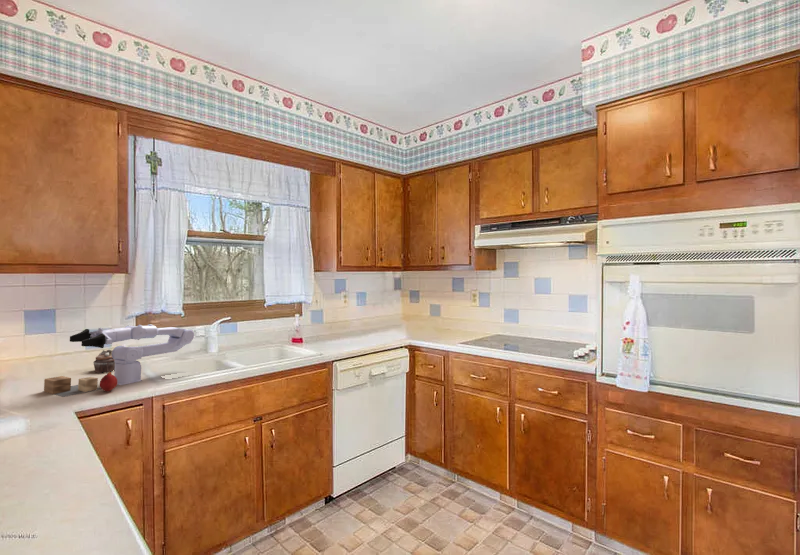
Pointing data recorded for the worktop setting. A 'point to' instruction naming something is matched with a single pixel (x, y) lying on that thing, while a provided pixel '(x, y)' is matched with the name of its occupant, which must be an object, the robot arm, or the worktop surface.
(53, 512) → the worktop surface
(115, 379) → the red round fruit
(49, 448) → the worktop surface
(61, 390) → the tower base
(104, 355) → the cupcake
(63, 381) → the tower top
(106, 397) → the worktop surface
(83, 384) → the cube
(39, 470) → the worktop surface
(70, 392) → the mat
